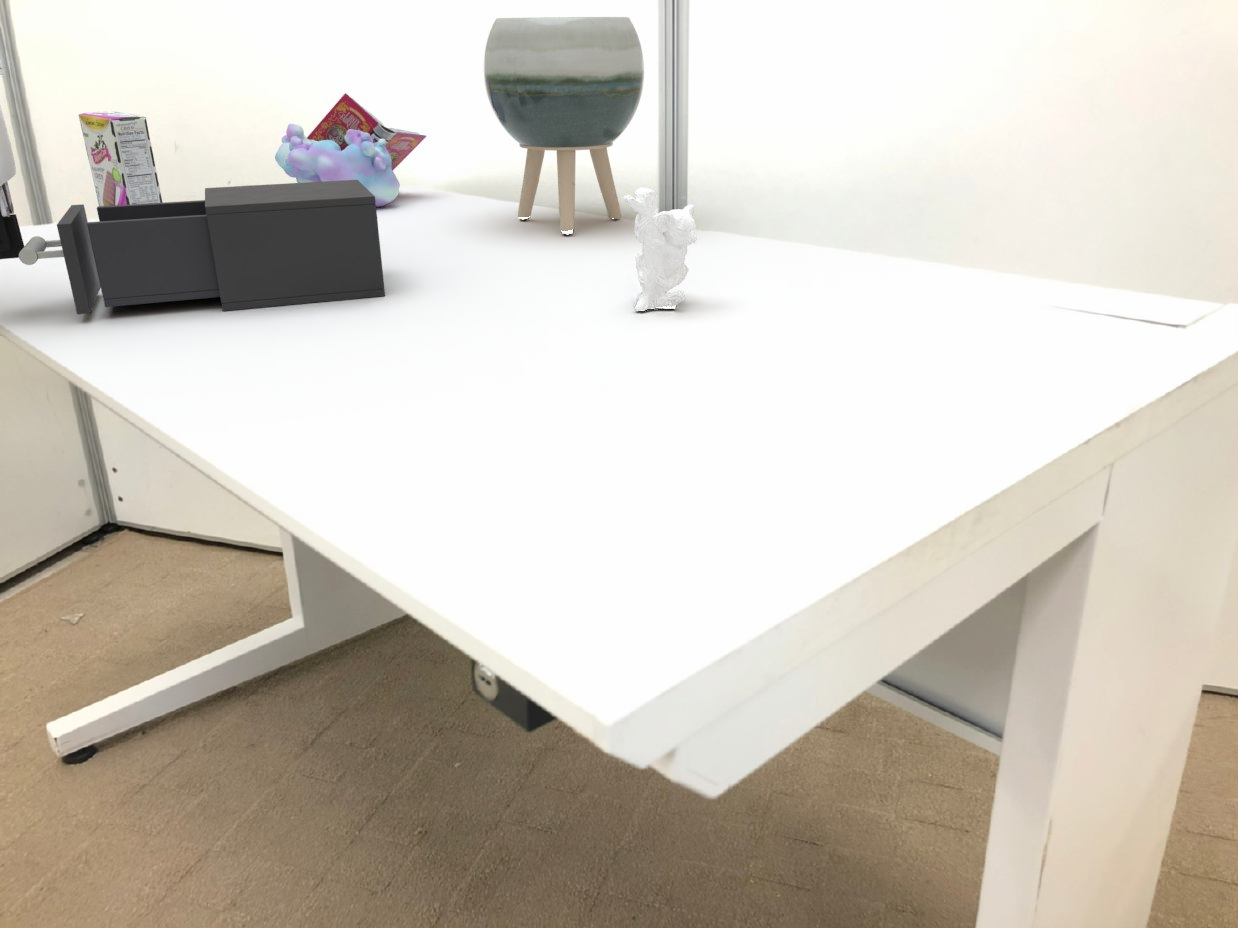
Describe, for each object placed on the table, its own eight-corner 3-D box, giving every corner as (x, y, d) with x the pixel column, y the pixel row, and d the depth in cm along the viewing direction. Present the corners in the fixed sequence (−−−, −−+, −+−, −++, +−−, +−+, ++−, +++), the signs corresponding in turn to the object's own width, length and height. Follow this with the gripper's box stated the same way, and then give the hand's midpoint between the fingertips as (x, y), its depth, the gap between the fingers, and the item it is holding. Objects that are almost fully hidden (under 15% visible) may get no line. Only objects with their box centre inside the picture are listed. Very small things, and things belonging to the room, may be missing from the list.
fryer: (222, 311, 103) (204, 206, 99) (220, 282, 115) (204, 188, 110) (385, 296, 108) (375, 196, 104) (367, 270, 120) (357, 179, 116)
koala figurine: (638, 318, 99) (637, 194, 94) (607, 303, 105) (605, 186, 100) (710, 308, 103) (713, 188, 98) (676, 294, 108) (678, 180, 103)
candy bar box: (102, 234, 142) (76, 113, 136) (137, 229, 146) (113, 110, 139) (135, 245, 135) (109, 117, 129) (171, 239, 139) (148, 114, 132)
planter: (657, 214, 154) (658, 17, 143) (625, 242, 135) (624, 16, 123) (520, 210, 159) (511, 19, 148) (470, 236, 139) (455, 18, 128)
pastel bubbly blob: (262, 186, 152) (312, 78, 147) (266, 163, 170) (311, 67, 166) (385, 248, 161) (436, 148, 156) (377, 220, 179) (422, 129, 175)
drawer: (28, 318, 97) (5, 227, 94) (45, 290, 108) (25, 207, 105) (242, 299, 104) (228, 213, 100) (239, 274, 114) (226, 196, 111)
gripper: (-73, 60, 98) (-21, 247, 105) (-116, 62, 85) (-53, 276, 92) (13, 57, 100) (58, 241, 108) (-17, 59, 87) (37, 268, 95)
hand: (7, 256), depth 100 cm, fingers closed
